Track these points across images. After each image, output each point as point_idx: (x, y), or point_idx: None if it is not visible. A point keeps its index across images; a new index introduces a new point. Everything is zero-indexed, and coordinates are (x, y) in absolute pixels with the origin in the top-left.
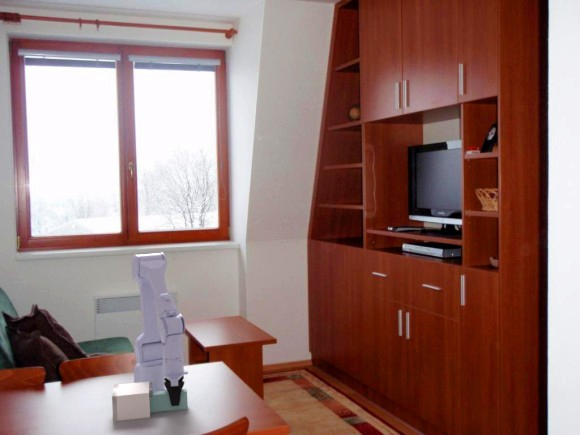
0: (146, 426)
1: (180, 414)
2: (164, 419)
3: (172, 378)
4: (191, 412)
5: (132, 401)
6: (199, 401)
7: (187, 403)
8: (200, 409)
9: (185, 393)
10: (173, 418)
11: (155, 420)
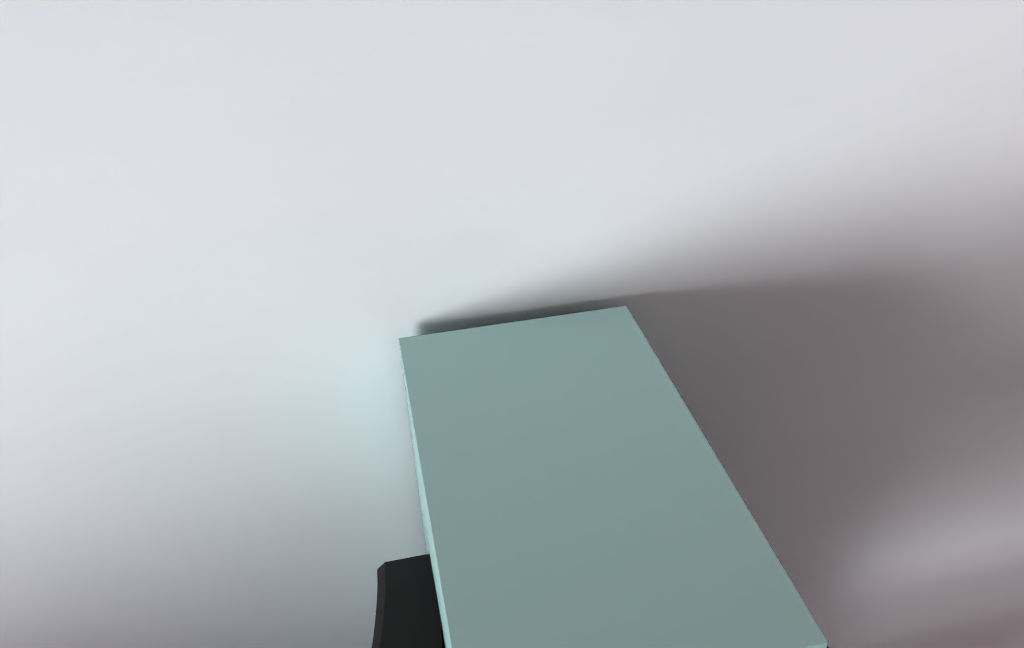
0: (992, 636)
1: (820, 381)
2: (898, 535)
3: None
4: (821, 209)
5: None
6: (20, 53)
7: (668, 379)
8: (728, 11)
9: (784, 624)
10: (933, 445)
11: (869, 609)
